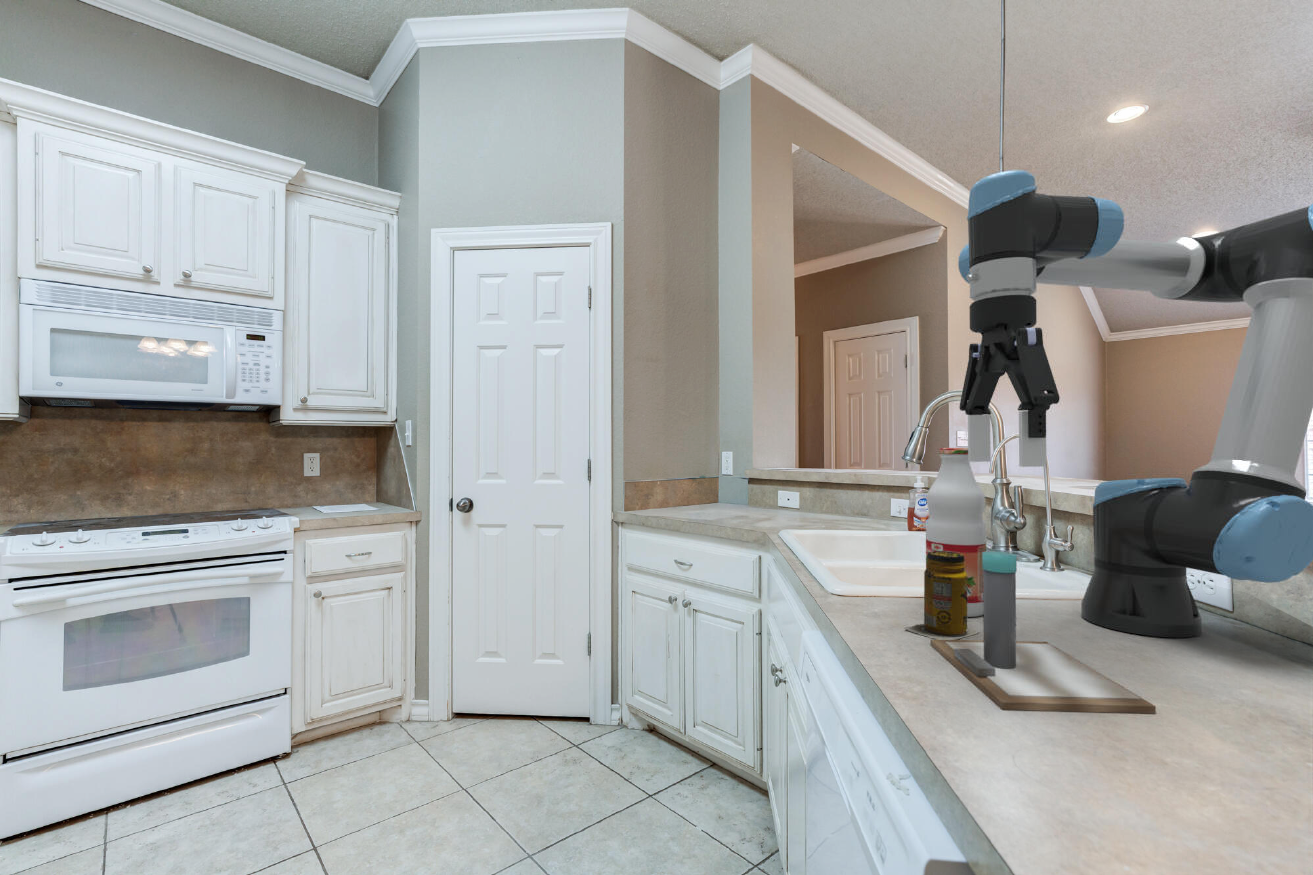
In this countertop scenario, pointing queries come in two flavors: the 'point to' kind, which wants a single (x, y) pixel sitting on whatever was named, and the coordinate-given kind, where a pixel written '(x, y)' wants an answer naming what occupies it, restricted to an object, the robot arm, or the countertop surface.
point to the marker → (999, 608)
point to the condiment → (944, 598)
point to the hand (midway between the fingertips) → (1003, 464)
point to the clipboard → (1041, 680)
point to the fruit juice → (958, 520)
